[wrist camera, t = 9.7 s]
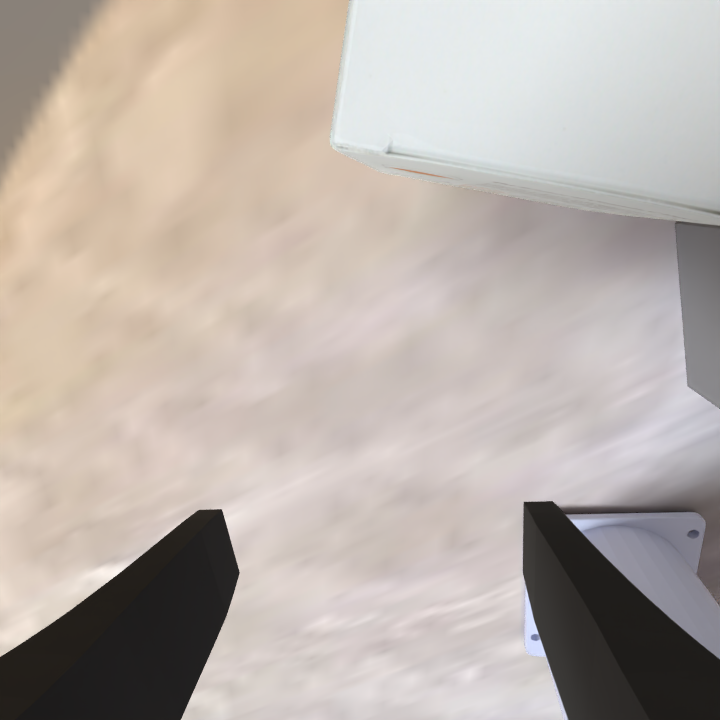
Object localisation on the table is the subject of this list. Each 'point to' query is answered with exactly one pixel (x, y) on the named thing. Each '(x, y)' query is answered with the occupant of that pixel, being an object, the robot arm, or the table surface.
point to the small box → (540, 100)
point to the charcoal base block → (700, 305)
